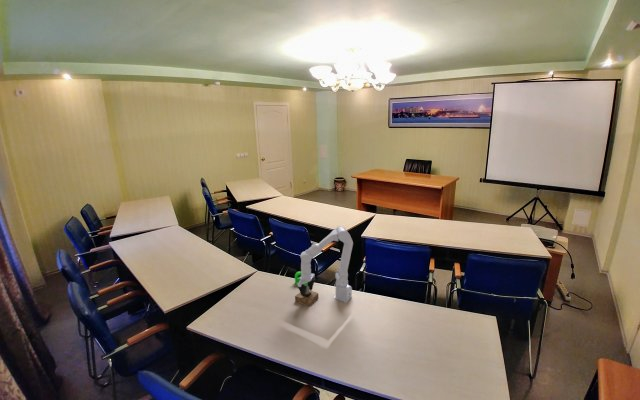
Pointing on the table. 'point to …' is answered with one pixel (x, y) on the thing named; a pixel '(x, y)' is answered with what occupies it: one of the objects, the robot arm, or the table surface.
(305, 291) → the metal peg
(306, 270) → the robot arm
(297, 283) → the mechanical part
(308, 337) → the table surface
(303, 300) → the square wooden ring
